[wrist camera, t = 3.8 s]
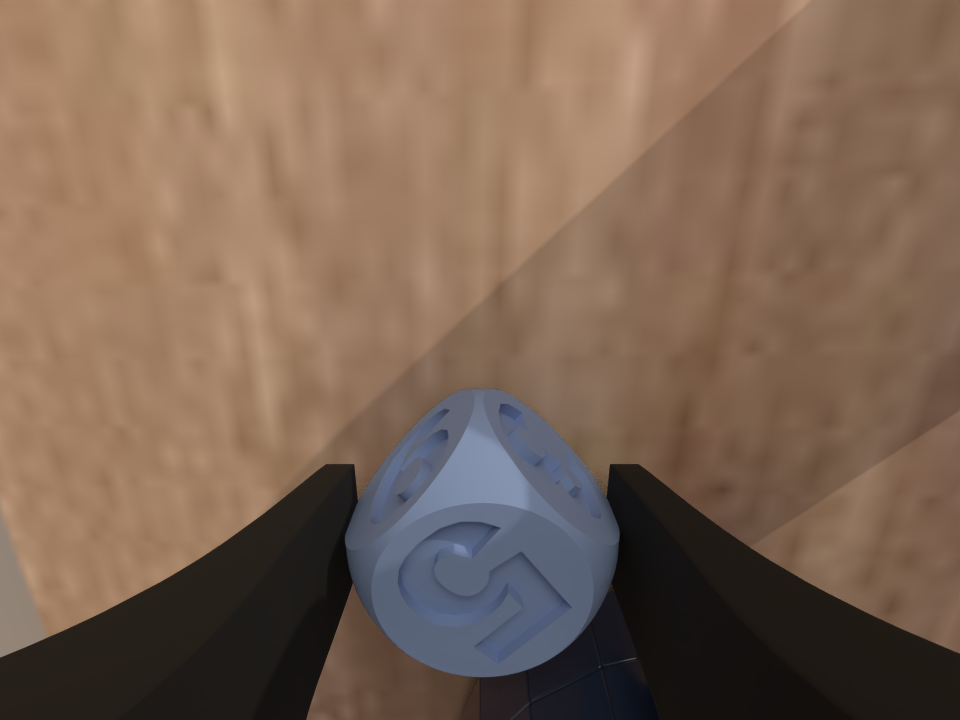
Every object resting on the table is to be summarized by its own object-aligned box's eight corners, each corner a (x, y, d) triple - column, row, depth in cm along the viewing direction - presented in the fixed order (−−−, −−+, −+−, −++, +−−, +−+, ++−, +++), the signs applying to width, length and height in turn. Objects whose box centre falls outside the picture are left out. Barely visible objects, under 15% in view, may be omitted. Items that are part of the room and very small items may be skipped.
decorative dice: (484, 562, 13) (485, 713, 10) (366, 471, 12) (316, 598, 9) (597, 466, 12) (648, 593, 9) (479, 360, 11) (478, 450, 8)
